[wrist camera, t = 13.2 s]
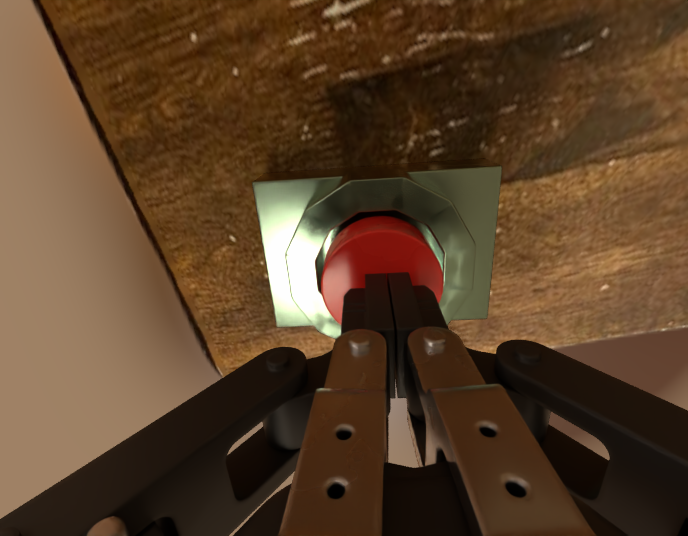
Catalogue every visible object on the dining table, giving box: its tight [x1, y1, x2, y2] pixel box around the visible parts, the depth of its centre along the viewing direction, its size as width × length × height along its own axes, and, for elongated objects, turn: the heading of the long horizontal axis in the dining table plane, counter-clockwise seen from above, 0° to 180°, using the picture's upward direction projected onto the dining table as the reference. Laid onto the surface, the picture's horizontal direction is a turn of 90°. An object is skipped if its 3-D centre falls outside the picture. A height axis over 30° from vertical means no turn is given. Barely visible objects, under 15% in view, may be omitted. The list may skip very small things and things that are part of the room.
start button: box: [321, 216, 444, 325], centre depth 14 cm, size 4×4×2 cm
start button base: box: [252, 158, 502, 339], centre depth 16 cm, size 10×7×4 cm
